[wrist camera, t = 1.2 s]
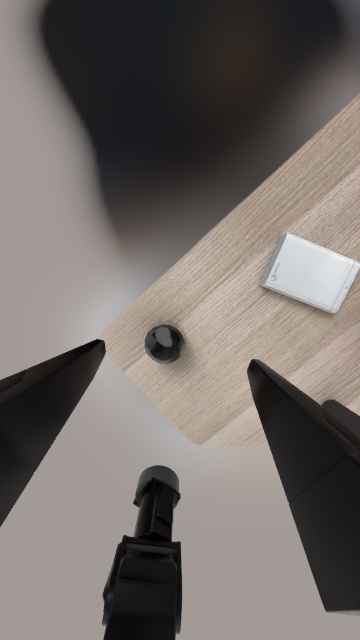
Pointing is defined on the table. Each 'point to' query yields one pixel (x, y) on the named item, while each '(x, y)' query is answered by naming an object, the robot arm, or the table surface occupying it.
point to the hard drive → (310, 273)
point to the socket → (165, 342)
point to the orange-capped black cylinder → (343, 414)
